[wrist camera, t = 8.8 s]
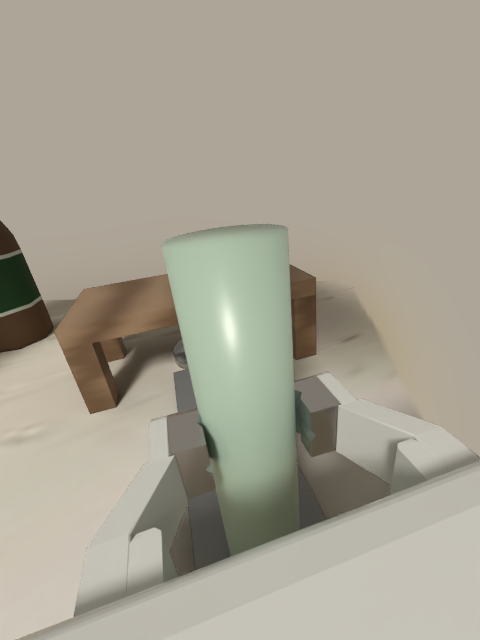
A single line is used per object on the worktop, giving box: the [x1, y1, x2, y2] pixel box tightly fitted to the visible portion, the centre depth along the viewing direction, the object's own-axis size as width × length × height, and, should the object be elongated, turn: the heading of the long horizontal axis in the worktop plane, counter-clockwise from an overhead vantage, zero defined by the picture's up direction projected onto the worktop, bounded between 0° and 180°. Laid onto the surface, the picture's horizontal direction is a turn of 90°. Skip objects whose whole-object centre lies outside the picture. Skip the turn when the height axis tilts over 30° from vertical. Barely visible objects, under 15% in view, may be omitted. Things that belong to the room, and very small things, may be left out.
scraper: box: [161, 224, 327, 570], centre depth 16 cm, size 17×6×14 cm, turn 15°
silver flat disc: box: [173, 339, 189, 369], centre depth 30 cm, size 6×6×1 cm
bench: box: [54, 264, 316, 414], centre depth 28 cm, size 20×10×8 cm, turn 106°
